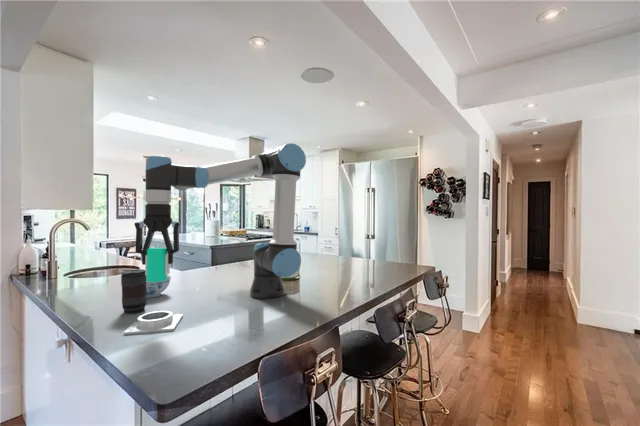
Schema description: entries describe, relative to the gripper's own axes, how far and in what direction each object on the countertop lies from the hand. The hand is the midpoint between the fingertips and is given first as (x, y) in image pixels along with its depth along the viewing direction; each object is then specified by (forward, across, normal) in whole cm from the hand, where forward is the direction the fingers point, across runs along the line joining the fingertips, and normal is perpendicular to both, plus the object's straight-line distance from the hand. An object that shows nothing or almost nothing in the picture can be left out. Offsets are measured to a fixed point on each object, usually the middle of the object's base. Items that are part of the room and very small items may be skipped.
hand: (157, 274), depth 104 cm
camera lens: (+17, +12, -18) cm, 27 cm away
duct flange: (+16, 0, 0) cm, 16 cm away
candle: (+2, 0, 0) cm, 2 cm away
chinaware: (+17, +12, -41) cm, 46 cm away
